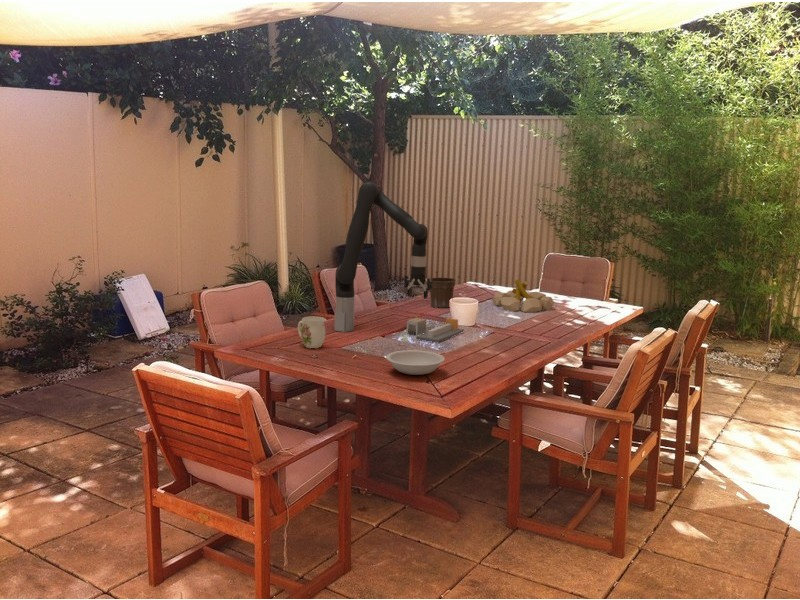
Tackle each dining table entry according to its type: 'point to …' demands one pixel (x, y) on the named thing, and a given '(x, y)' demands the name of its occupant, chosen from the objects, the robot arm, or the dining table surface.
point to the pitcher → (312, 331)
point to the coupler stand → (442, 331)
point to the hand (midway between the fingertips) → (417, 297)
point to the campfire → (516, 296)
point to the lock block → (416, 326)
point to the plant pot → (442, 292)
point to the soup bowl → (415, 361)
